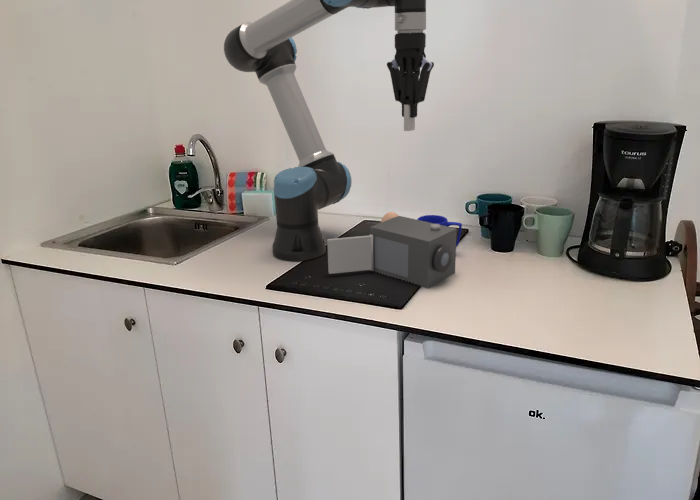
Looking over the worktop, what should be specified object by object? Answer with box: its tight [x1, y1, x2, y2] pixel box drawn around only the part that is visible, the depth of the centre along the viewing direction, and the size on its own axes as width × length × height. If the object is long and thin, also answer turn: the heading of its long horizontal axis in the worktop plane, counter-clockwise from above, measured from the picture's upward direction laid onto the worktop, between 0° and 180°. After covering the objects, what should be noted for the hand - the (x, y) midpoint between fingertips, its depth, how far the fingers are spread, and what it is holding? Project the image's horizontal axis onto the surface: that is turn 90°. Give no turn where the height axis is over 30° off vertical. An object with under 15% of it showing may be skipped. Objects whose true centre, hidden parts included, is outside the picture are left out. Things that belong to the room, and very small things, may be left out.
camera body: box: [369, 215, 458, 289], centre depth 145 cm, size 20×12×13 cm, turn 48°
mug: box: [416, 214, 463, 248], centre depth 158 cm, size 8×12×10 cm
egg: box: [380, 211, 400, 223], centre depth 172 cm, size 7×7×8 cm
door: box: [326, 233, 374, 275], centre depth 146 cm, size 12×2×10 cm, turn 100°
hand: (409, 130), depth 147 cm, fingers closed
